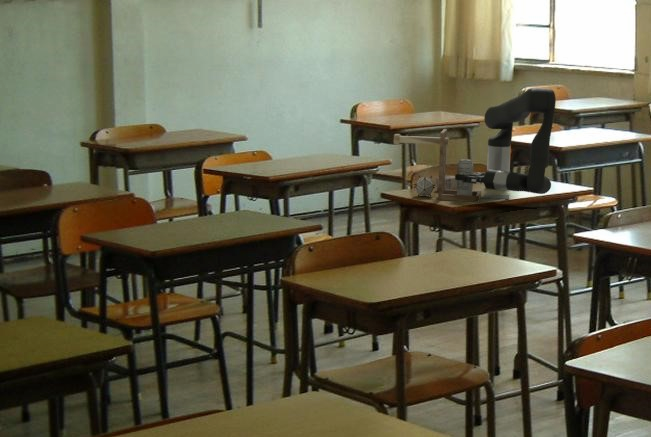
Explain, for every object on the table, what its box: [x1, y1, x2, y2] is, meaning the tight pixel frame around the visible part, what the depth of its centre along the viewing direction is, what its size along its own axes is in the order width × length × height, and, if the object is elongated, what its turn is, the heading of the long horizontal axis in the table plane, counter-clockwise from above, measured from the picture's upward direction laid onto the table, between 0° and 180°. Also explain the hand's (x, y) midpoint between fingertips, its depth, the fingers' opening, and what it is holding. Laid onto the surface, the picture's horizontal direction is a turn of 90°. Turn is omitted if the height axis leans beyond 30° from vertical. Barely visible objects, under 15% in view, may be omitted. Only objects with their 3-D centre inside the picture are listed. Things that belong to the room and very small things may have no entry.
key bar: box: [393, 133, 450, 146], centre depth 475 cm, size 4×21×4 cm, turn 79°
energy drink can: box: [456, 158, 474, 196], centre depth 474 cm, size 6×6×15 cm
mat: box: [482, 193, 510, 201], centre depth 479 cm, size 10×10×1 cm
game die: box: [413, 175, 436, 198], centre depth 478 cm, size 9×8×10 cm
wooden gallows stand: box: [437, 128, 482, 202], centre depth 473 cm, size 13×16×26 cm
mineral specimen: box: [435, 174, 457, 191], centre depth 495 cm, size 13×7×6 cm, turn 117°
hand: (459, 175), depth 475 cm, fingers closed on energy drink can, 6 cm apart
